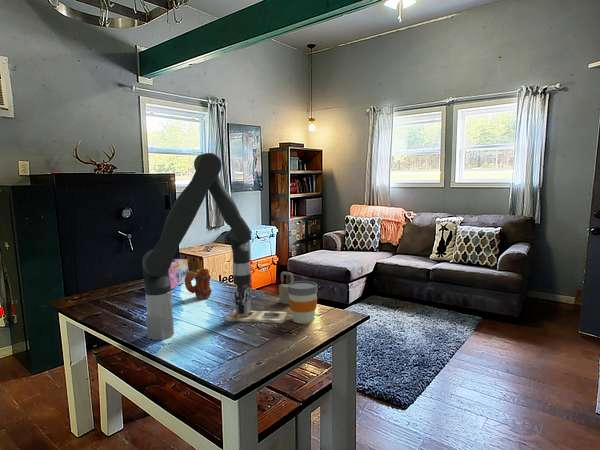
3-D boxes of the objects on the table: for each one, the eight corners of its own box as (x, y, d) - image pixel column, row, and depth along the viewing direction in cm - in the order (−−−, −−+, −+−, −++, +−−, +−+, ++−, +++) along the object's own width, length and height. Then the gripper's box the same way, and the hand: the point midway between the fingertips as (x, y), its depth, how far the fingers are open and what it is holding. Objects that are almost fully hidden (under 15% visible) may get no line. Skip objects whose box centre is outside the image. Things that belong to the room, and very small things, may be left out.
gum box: (178, 279, 230) (177, 257, 228) (190, 280, 228) (189, 258, 227) (156, 291, 207) (154, 266, 205) (169, 291, 205) (167, 267, 203)
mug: (206, 293, 199) (204, 265, 198) (216, 296, 194) (214, 267, 192) (181, 300, 188) (180, 271, 186) (191, 304, 183) (189, 273, 181)
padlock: (283, 300, 185) (282, 270, 184) (297, 303, 181) (296, 272, 179) (278, 302, 182) (277, 271, 180) (291, 305, 177) (291, 274, 176)
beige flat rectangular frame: (287, 314, 165) (287, 311, 165) (282, 323, 155) (282, 320, 155) (234, 312, 169) (234, 310, 169) (226, 321, 160) (226, 318, 159)
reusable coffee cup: (321, 315, 163) (320, 281, 162) (314, 326, 151) (313, 289, 150) (293, 313, 167) (292, 280, 165) (284, 323, 155) (283, 288, 153)
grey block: (247, 315, 160) (246, 302, 160) (236, 315, 161) (235, 301, 160) (250, 311, 165) (250, 298, 164) (239, 311, 166) (239, 298, 165)
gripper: (245, 277, 153) (246, 317, 155) (255, 268, 167) (256, 306, 169) (227, 276, 155) (229, 316, 157) (238, 268, 169) (240, 305, 171)
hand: (243, 310), depth 163 cm, fingers closed on grey block, 5 cm apart
